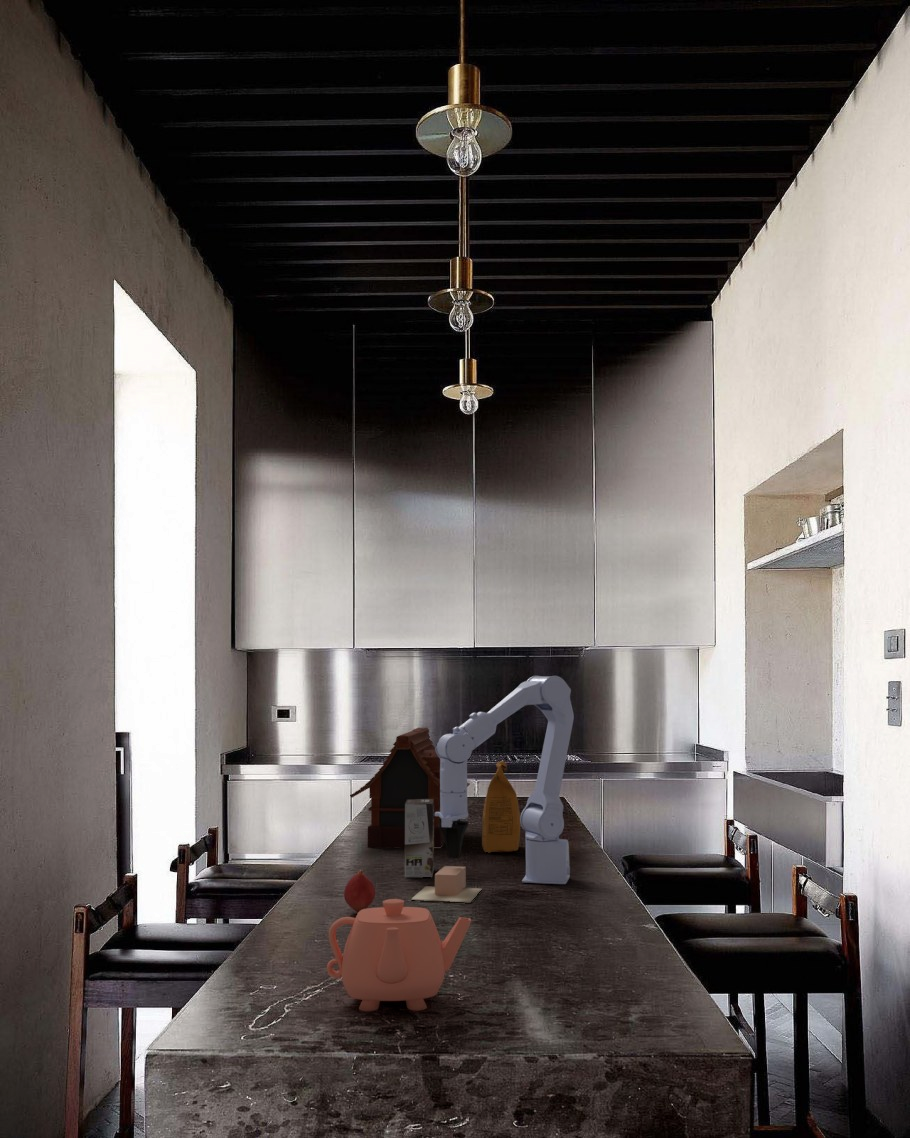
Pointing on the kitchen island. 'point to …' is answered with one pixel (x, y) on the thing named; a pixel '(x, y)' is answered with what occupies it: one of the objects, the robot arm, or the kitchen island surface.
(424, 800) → the coffee box
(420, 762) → the house
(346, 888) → the onion
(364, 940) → the teapot
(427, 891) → the birch board
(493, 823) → the coffee package
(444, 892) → the tall block
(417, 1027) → the kitchen island surface
